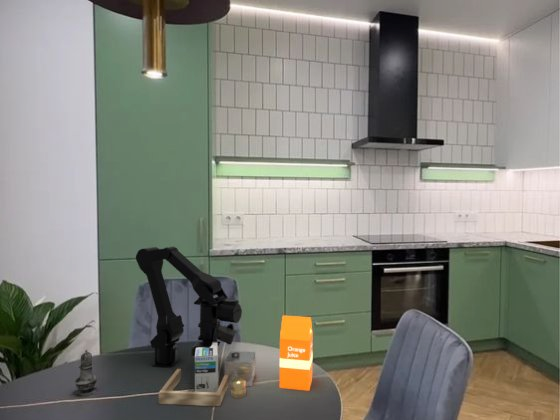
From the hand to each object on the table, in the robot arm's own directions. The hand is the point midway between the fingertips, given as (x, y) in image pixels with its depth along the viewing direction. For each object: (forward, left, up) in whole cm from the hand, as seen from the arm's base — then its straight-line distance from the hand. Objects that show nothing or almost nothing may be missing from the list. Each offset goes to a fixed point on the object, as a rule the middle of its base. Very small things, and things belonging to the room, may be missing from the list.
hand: (208, 367), depth 122 cm
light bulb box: (+2, -10, -1) cm, 10 cm away
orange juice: (+28, -6, -1) cm, 29 cm away
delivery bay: (0, -13, -1) cm, 13 cm away
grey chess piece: (-31, -16, -1) cm, 35 cm away
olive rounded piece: (+12, -14, -1) cm, 19 cm away
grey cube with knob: (+11, -5, -1) cm, 12 cm away
